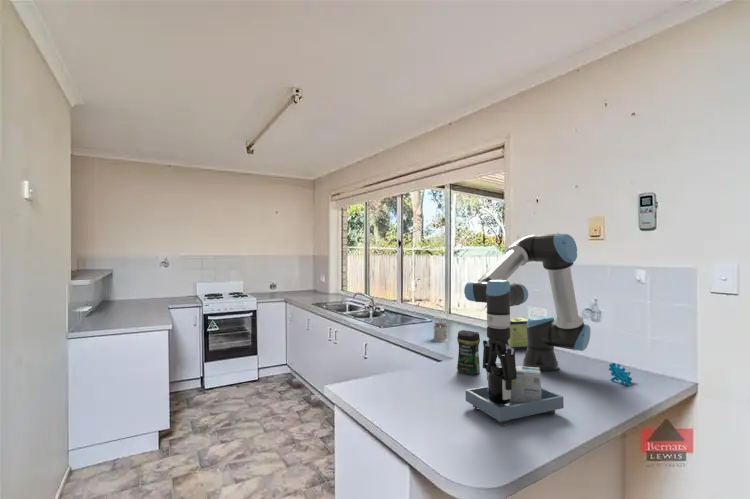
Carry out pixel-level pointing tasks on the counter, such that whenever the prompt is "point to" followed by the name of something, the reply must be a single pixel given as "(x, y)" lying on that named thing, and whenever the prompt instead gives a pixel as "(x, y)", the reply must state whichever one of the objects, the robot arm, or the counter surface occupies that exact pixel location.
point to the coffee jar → (468, 352)
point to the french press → (440, 329)
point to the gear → (620, 374)
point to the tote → (513, 404)
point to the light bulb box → (526, 385)
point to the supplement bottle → (496, 385)
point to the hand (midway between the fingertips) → (499, 394)
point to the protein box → (518, 333)
